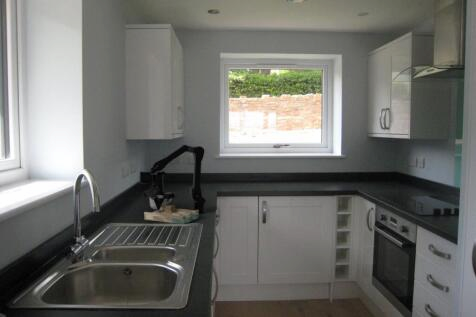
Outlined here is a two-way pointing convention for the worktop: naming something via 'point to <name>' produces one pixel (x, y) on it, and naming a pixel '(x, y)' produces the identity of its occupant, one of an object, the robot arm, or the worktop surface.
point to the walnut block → (170, 209)
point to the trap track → (172, 216)
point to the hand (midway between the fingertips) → (158, 209)
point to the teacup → (161, 205)
